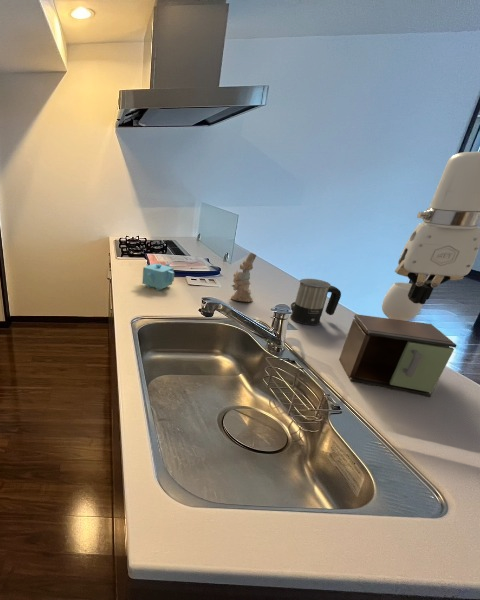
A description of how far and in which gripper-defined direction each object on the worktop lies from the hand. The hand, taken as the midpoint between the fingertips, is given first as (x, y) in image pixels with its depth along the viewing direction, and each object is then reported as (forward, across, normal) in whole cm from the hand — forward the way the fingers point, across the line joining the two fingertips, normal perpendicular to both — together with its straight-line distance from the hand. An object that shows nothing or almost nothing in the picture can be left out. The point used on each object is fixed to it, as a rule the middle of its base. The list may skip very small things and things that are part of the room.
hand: (416, 301), depth 71 cm
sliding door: (+24, +7, +1) cm, 25 cm away
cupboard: (+25, +3, +9) cm, 27 cm away
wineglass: (+25, +9, +26) cm, 37 cm away
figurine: (+25, -31, +53) cm, 66 cm away
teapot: (+25, -67, +56) cm, 91 cm away
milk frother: (+25, -10, +44) cm, 52 cm away
